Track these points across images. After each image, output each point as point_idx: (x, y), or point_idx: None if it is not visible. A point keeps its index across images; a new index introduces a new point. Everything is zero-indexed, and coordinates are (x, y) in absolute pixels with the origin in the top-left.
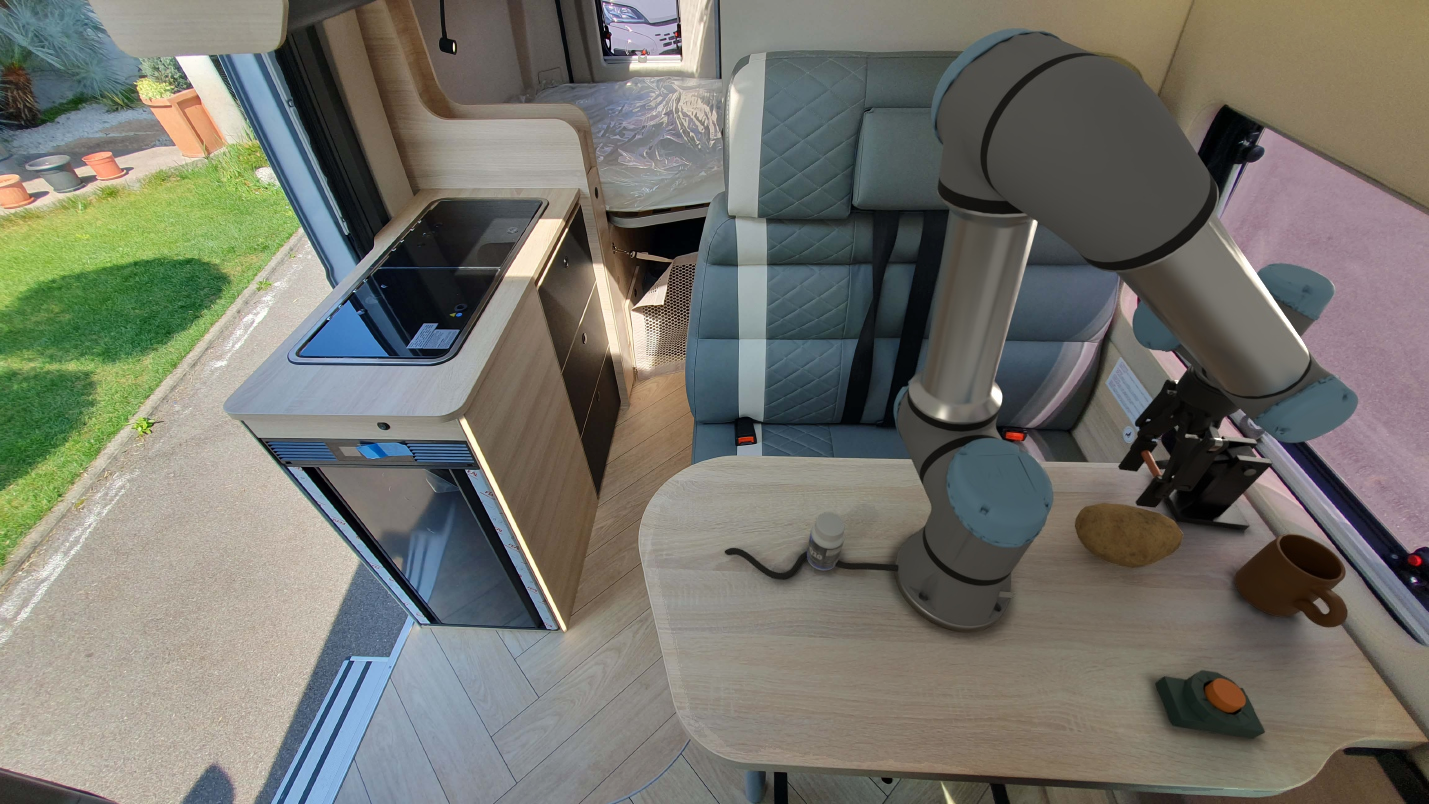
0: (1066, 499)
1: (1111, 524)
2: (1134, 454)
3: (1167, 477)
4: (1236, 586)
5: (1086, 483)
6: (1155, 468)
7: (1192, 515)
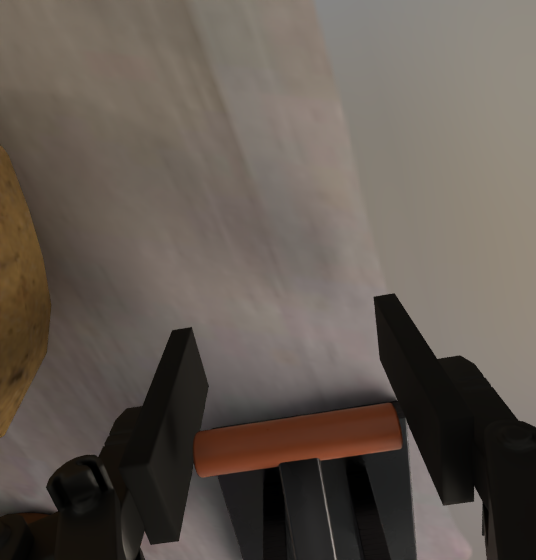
0: (157, 56)
1: None
2: (404, 369)
3: (64, 526)
4: (21, 513)
5: (297, 163)
6: (253, 454)
7: (233, 477)
